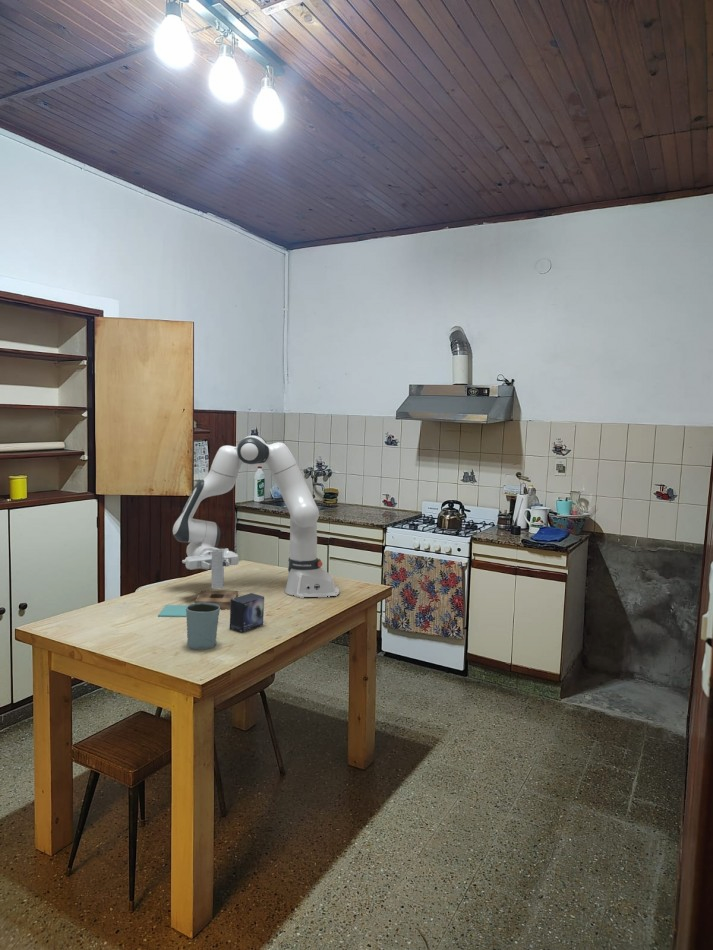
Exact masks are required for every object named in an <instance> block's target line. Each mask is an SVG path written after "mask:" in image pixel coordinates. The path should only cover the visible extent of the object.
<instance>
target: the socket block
mask: <svg viewBox="0 0 713 950" xmlns="http://www.w3.org/2000/svg"><path fill="white" fill-rule="evenodd" d="M238 595H239V591H238V590H237V591H235V590H200V593H199V594H198V596H197V597H196V598H195V600H194V603H203V602H205V603H214V604H217V605H219V606H220V609H222V610H223V611H224V610H225V609H227V611H230V605H231V599H233V598H236V597H239V596H238ZM225 611H226V610H225Z"/></svg>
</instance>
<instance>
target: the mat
mask: <svg viewBox="0 0 713 950" xmlns="http://www.w3.org/2000/svg"><path fill="white" fill-rule="evenodd" d="M188 605H189V604H184V605H183V604H182V605H181V604H166V605H165V606H164V607H163V608H162V610H161V611H160V612H159V613H158V615H157V617H158V618H160V617H161V618H187V616H186V607H187V606H188Z"/></svg>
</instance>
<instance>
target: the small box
mask: <svg viewBox="0 0 713 950" xmlns="http://www.w3.org/2000/svg"><path fill="white" fill-rule="evenodd" d="M264 610H265V596H264V595H260V594H256V593H253V592H250V593H246V594H244V595H240V596H238V597H236V598H233V599H231V605H230V610H229V627H228V628H229V629H228V630H232V631H234V632H238V633H241V634H243V633H244V634H245V633H246V632H249V631H251V630H254V629H257V627H258V628H259V627H263V626H264V615H265V613H264V612H265V611H264Z"/></svg>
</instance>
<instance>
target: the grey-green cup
mask: <svg viewBox="0 0 713 950" xmlns="http://www.w3.org/2000/svg"><path fill="white" fill-rule="evenodd" d="M187 605H188V606H187V607H186V616H187V617H186V630H187V631H186V637H187V640H186V642H187V643H186V644H187V647H188V648H190V649H192V650H199V651H200V650H207V649H211V648H213V647H215V646H216V643H217V635H218V634H217V632H218V624H219V616H220V612H221V611H220V606H219V605H217V604H214V603H205V602H203V603H195V602H194V603H190V604H187Z"/></svg>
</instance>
